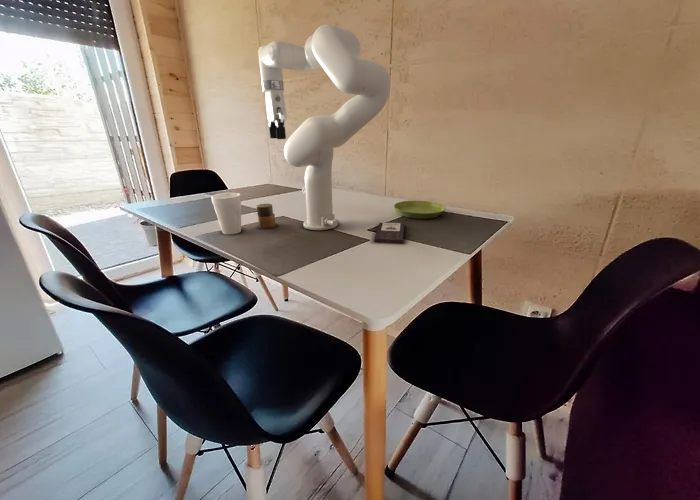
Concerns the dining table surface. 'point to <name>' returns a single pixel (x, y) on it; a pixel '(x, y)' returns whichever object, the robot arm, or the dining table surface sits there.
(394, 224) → the chocolate bar
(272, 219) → the oak chip middle
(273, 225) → the oak base
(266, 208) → the walnut chip
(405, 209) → the saucer
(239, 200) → the foam cup
